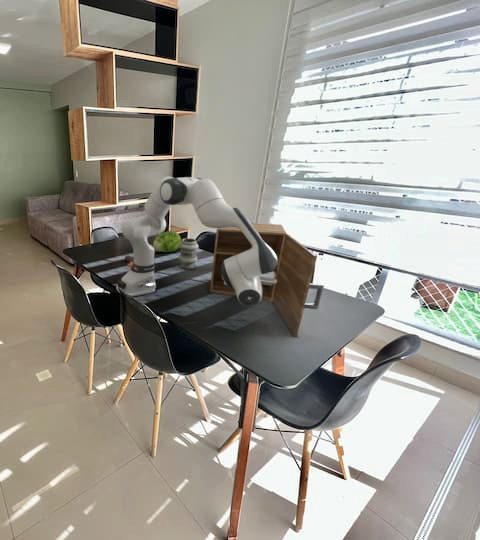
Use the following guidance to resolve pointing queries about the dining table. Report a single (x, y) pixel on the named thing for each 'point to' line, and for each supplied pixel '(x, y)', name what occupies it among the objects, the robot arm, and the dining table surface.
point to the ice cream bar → (129, 259)
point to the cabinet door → (295, 283)
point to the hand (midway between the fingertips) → (247, 267)
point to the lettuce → (167, 242)
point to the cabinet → (236, 242)
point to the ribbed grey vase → (188, 253)
